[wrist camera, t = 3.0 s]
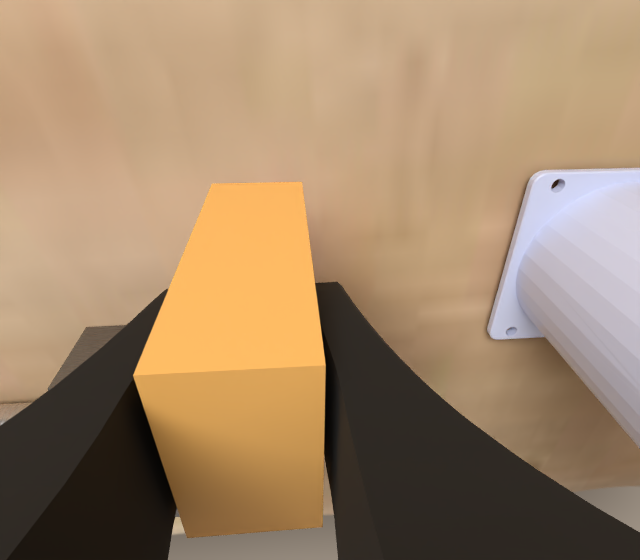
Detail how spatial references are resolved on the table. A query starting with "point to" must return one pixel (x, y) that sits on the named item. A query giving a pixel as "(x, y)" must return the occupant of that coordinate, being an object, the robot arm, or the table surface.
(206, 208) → the tall orange cuboid
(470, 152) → the table surface
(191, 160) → the table surface
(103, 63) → the table surface
